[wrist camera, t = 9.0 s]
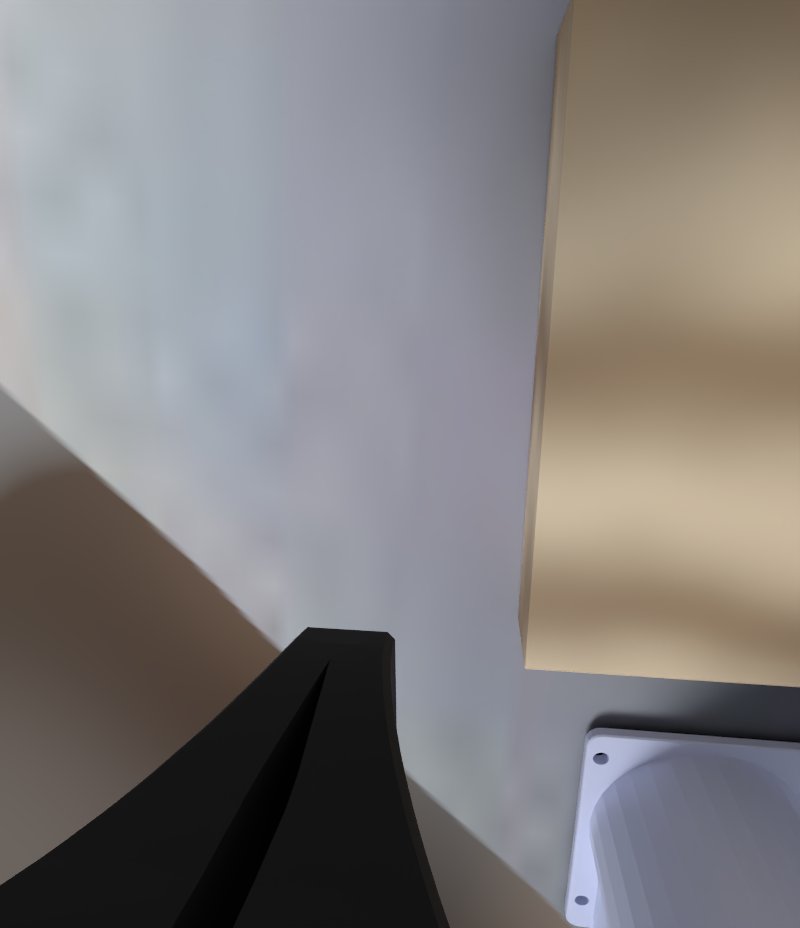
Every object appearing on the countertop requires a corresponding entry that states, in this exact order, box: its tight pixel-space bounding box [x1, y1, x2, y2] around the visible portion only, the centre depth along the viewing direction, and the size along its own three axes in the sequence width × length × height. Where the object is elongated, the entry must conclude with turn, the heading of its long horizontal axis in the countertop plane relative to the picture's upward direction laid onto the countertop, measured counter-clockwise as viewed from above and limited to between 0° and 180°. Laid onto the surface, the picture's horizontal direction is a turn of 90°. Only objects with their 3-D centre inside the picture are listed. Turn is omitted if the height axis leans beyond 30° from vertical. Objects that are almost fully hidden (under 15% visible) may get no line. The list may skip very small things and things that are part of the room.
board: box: [518, 0, 800, 687], centre depth 14 cm, size 16×12×2 cm
